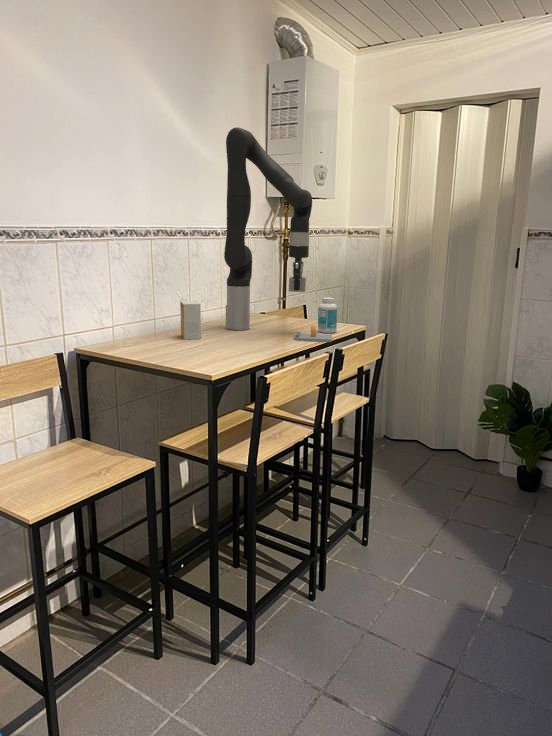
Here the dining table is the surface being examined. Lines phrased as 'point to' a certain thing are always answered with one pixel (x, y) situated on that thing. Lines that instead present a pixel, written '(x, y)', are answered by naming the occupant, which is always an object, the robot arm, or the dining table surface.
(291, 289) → the grey block
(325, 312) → the pill bottle
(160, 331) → the dining table surface
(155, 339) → the dining table surface
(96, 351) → the dining table surface
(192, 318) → the small box
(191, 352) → the dining table surface
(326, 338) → the keeper
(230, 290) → the robot arm
